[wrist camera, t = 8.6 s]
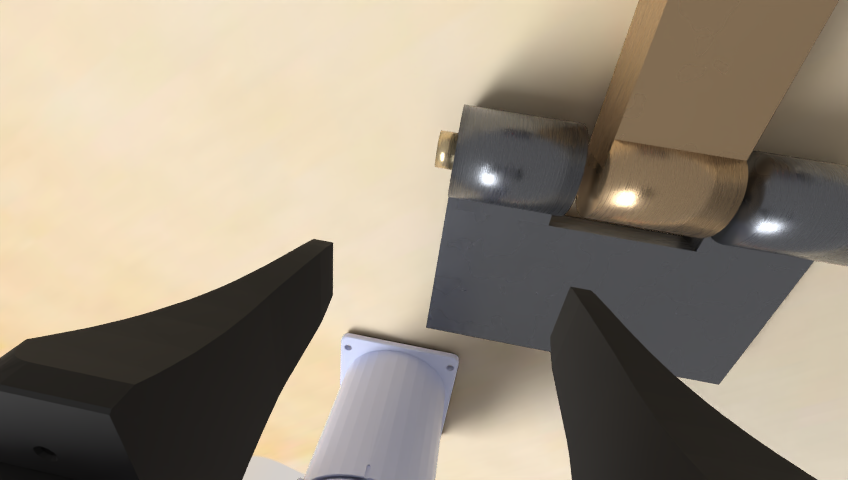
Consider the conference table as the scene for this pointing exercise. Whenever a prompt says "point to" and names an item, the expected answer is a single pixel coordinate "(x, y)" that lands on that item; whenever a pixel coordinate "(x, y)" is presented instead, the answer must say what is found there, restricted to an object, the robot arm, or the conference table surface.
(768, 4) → the brown boxy piece
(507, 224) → the metal hinge
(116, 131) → the conference table surface
